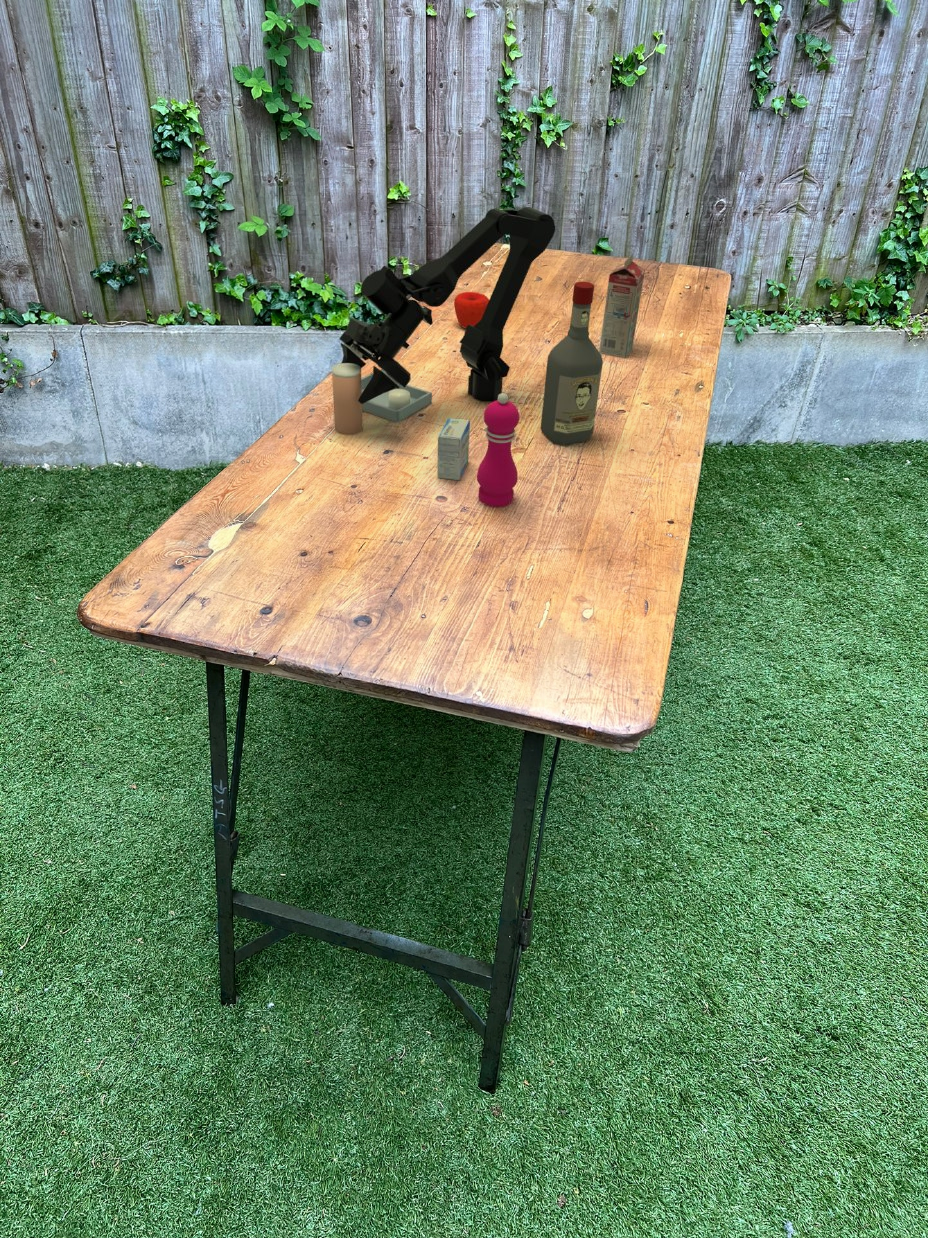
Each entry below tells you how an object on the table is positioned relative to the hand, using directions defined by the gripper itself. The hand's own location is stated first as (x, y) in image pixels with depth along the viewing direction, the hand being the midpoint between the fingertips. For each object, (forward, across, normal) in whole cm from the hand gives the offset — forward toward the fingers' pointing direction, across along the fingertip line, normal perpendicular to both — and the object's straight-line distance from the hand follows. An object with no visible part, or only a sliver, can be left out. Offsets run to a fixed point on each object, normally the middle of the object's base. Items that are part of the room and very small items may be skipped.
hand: (348, 393), depth 177 cm
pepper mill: (-1, +36, +13) cm, 38 cm away
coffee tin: (+6, 0, +6) cm, 8 cm away
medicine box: (-1, +23, +12) cm, 26 cm away
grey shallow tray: (-3, -7, +14) cm, 16 cm away
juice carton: (-49, -6, +59) cm, 77 cm away
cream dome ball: (-5, -3, +15) cm, 16 cm away
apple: (-33, -36, +44) cm, 66 cm away
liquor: (-21, +23, +32) cm, 44 cm away
